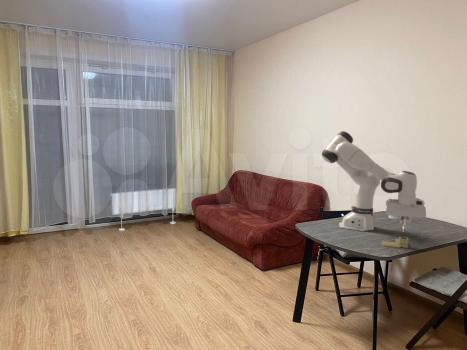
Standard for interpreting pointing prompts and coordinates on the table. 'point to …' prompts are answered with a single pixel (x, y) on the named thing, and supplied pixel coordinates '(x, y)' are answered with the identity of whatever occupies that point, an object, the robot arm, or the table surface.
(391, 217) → the wedge on round base
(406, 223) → the pin
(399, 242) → the hinge leaves
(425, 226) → the table surface
